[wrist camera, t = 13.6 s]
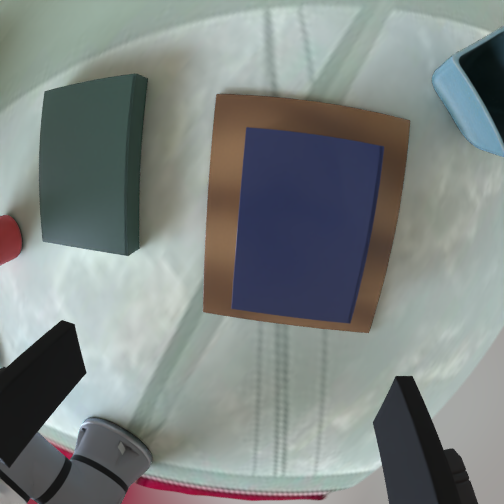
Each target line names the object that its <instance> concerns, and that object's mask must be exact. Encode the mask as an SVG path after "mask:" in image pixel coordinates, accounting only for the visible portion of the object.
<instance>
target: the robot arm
mask: <svg viewBox="0 0 504 504" xmlns="http://www.w3.org/2000/svg"><path fill="white" fill-rule="evenodd" d="M85 374H86V369H85V366H84V362H83V358H82V354H81V350H80V346H79V342H78V338H77V333H76V329H75V324H72V323H69V322H66V321H63V320H61V321H60V322H59V323H58V324H57V325H55V326H54V327H53V328H52V329H51V330H49V331H48V332H47V333H46V334H45V335H43V336H42V337H41V338H40V339H39V340H37V341H36V342H35V343H34V344H33V345H32V346H30V347H29V348H28V349H27V350H26V351H25V352H23V353H22V354H21V355H20V356H19V357H18V358H17V359H16V360H14V361H13V362H12V363H11V364H10V365H9V366H8V367H7V368H5V367H3V368H1V369H0V504H27V502H28V501H29V499H30V498H32V499H33V500H34V501H36V502H37V503H38V504H121V503H122V500H123V499H124V497H125V494H126V492H127V490H128V488H129V486H130V485H131V484H132V483H134V482H135V481H136V480H137V479H138V478H139V477H140V476H141V475H142V474H143V473H145V472H146V471H147V469H148V468H149V467H150V465H151V462H152V455H151V453H150V451H149V450H148V449H147V447H146V446H145V445H144V444H143V443H142V442H141V441H140V440H139V439H137V438H136V437H135V436H133V435H132V434H131V433H129V432H128V431H126V430H125V429H123V428H121V427H119V426H117V425H115V424H113V423H111V422H109V421H106V420H103V419H99V418H87V419H86V420H85V421H84V422H83V424H82V425H81V427H80V430H79V434H78V439H77V443H76V448H75V452H74V454H73V456H72V457H71V459H70V460H69V459H68V458H66V457H65V456H64V455H63V454H62V453H61V452H59V451H58V450H57V449H56V448H55V447H54V446H53V445H51V444H50V443H49V442H48V441H47V440H46V439H45V438H44V437H43V436H42V435H41V434H40V433H39V432H38V431H39V429H40V428H41V427H42V426H43V424H44V423H45V422H46V421H47V419H48V418H49V417H50V416H51V414H52V413H53V412H54V411H55V410H56V408H57V407H58V406H59V405H60V404H61V402H62V401H63V400H64V399H65V397H66V396H67V395H68V394H69V393H70V392H71V390H72V389H73V388H74V387H75V386H76V384H77V383H78V382H79V381H80V380H81V379H82V377H83V376H84V375H85ZM373 425H374V429H375V434H376V438H377V443H378V447H379V452H380V457H381V462H382V467H383V472H384V477H385V482H386V488H387V493H388V499H389V504H478V502H477V499H476V496H475V493H474V490H473V487H472V485H471V482H470V481H469V476H468V474H467V472H466V471H465V470H466V468H465V466H464V463H463V461H462V458H461V457H460V456H459V455H458V453H457V452H456V451H455V450H454V449H447V450H443V447H442V445H441V442H440V440H439V437H438V434H437V432H436V430H435V427H434V424H433V422H432V420H431V417H430V415H429V412H428V410H427V408H426V405H425V403H424V401H423V398H422V396H421V394H420V392H419V389H418V387H417V385H416V383H415V381H414V378H413V376H396V377H395V379H394V381H393V383H392V385H391V388H390V390H389V392H388V394H387V396H386V398H385V400H384V402H383V404H382V406H381V408H380V410H379V412H378V414H377V416H376V418H375V419H374V421H373Z"/></svg>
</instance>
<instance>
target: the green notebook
mask: <svg viewBox="0 0 504 504" xmlns="http://www.w3.org/2000/svg"><path fill="white" fill-rule="evenodd" d="M147 82H148V78H145V77H143V76H141V75H139V74H129V75H121V76H115V77H108V78H102V79H97V80H92V81H86V82H82V83H77V84H72V85H68V86H64V87H60V88H56V89H52V90H48V91H45V93H44V100H43V109H42V119H41V132H40V151H39V195H40V215H41V228H42V238H43V242H48V243H54V244H60V245H66V246H71V247H77V248H83V249H89V250H95V251H101V252H107V253H113V254H120V255H126V256H129V255H130V254H132V253H133V252H135V251H136V250H138V249H139V184H140V160H141V143H142V130H143V118H144V108H145V99H146V90H147Z"/></svg>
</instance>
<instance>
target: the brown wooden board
mask: <svg viewBox="0 0 504 504" xmlns="http://www.w3.org/2000/svg"><path fill="white" fill-rule="evenodd" d="M246 127H250V128H263V129H274V130H283V131H292V132H301V133H308V134H316V135H323V136H329V137H336V138H342V139H348V140H353V141H359V142H364V143H369V144H374V145H379V146H384V154H383V163H382V171H381V178H380V185H379V192H378V199H377V205H376V211H375V217H374V223H373V228H372V233H371V239H370V244H369V249H368V253H367V258H366V263H365V267H364V272H363V276H362V280H361V285H360V289H359V293H358V297H357V301H356V305H355V309H354V312H353V316H352V320H351V323H350V324H349V323H339V322H329V321H320V320H311V319H302V318H294V317H286V316H278V315H271V314H263V313H256V312H249V311H243V310H236V309H231V305H232V291H233V278H234V264H235V251H236V239H237V226H238V214H239V202H240V190H241V179H242V168H243V156H244V146H245V135H246ZM409 129H410V120H406V119H402V118H398V117H394V116H390V115H386V114H381V113H377V112H372V111H367V110H362V109H357V108H352V107H346V106H341V105H335V104H328V103H322V102H315V101H307V100H299V99H290V98H280V97H268V96H254V95H234V94H217V95H216V104H215V114H214V124H213V135H212V147H211V159H210V172H209V186H208V201H207V218H206V237H205V260H204V290H203V312H206V313H212V314H218V315H224V316H230V317H237V318H243V319H250V320H257V321H264V322H271V323H279V324H287V325H295V326H303V327H312V328H321V329H331V330H341V331H352V332H364V333H369V331H370V327H371V324H372V321H373V318H374V314H375V311H376V307H377V304H378V300H379V297H380V293H381V290H382V286H383V282H384V278H385V274H386V270H387V266H388V262H389V257H390V253H391V248H392V244H393V239H394V234H395V229H396V224H397V219H398V213H399V208H400V202H401V196H402V189H403V182H404V175H405V168H406V160H407V151H408V141H409Z"/></svg>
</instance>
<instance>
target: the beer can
mask: <svg viewBox="0 0 504 504" xmlns="http://www.w3.org/2000/svg"><path fill="white" fill-rule="evenodd" d="M21 248H22V236H21V232H20V228H19V226H18V224H17V222H16V221H15V220H14V219H13V218H12V217H11V216H9V215H3V216H0V265H2V264H4V263H6V262H8V261H10V260H12V259H14V258H16V257H17V256H18V255H19V254H20V251H21Z"/></svg>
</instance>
